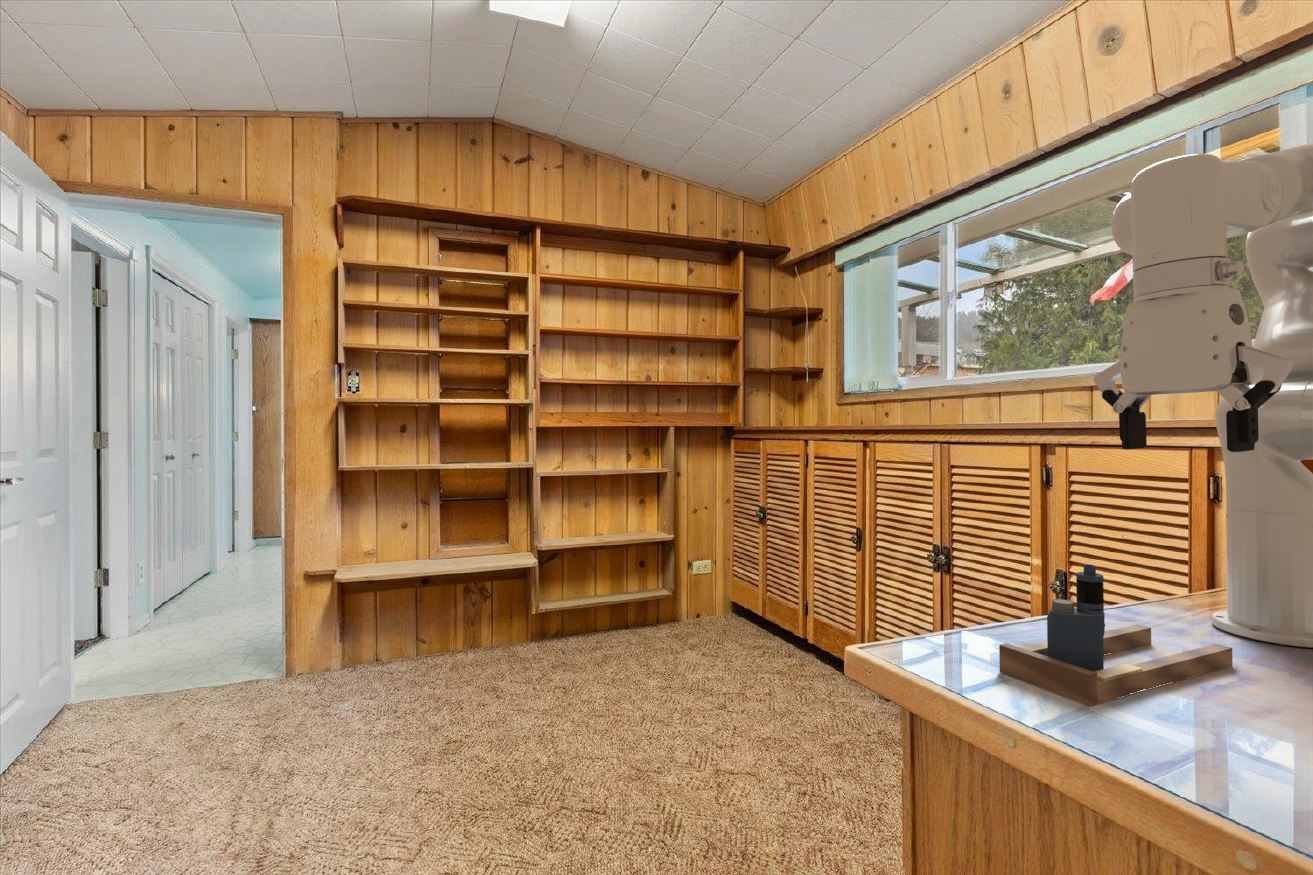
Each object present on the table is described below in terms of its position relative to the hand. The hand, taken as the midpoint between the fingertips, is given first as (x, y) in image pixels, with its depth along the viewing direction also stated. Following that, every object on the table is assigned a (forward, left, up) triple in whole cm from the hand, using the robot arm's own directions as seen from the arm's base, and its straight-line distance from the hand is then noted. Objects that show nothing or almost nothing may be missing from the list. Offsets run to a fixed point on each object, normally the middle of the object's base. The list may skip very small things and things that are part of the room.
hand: (1184, 449), depth 66 cm
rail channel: (+3, -5, -24) cm, 25 cm away
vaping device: (+10, -5, -24) cm, 27 cm away
